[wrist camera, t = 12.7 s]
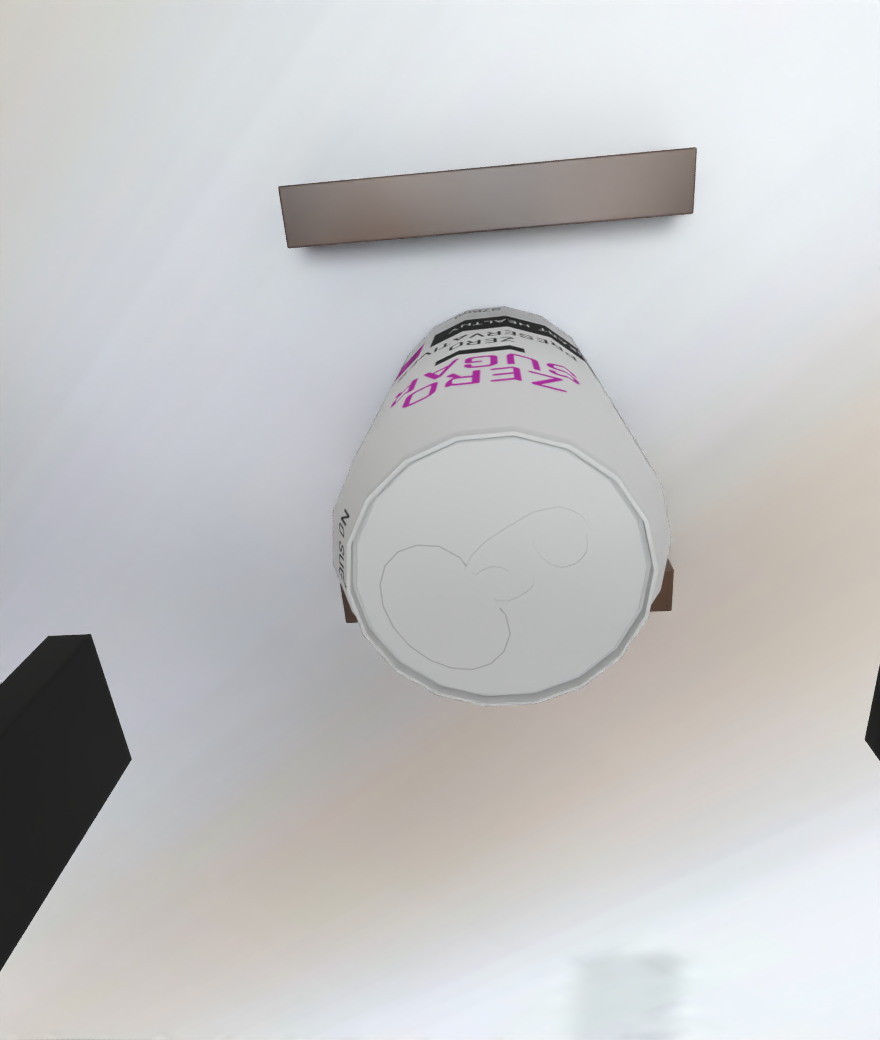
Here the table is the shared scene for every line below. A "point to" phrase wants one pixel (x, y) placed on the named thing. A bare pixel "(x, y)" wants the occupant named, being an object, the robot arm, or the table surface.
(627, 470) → the supplement can
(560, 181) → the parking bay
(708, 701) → the table surface
